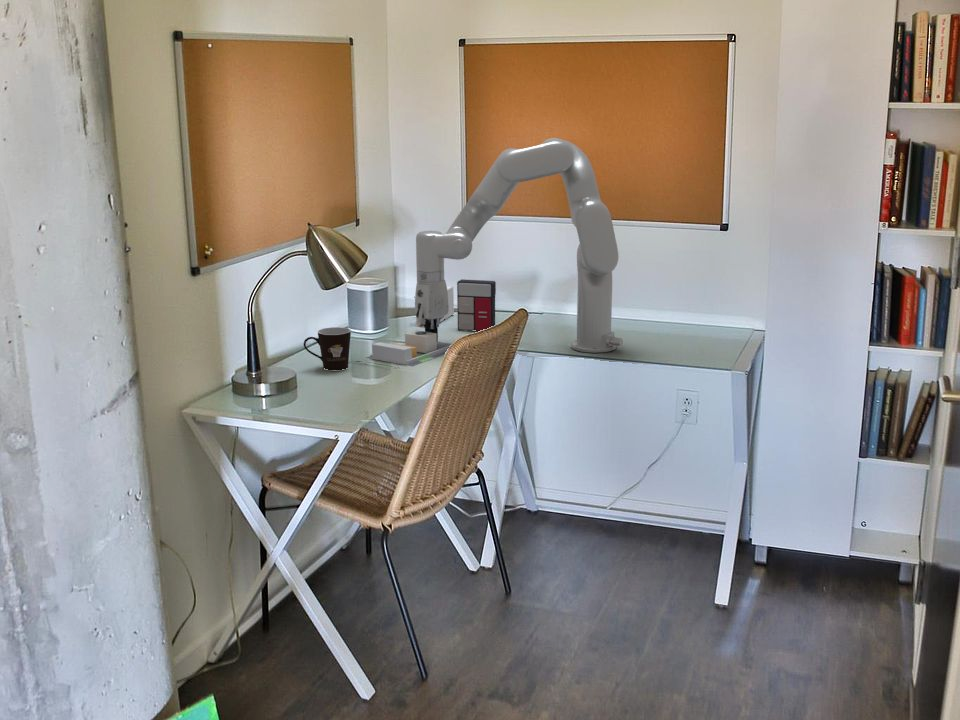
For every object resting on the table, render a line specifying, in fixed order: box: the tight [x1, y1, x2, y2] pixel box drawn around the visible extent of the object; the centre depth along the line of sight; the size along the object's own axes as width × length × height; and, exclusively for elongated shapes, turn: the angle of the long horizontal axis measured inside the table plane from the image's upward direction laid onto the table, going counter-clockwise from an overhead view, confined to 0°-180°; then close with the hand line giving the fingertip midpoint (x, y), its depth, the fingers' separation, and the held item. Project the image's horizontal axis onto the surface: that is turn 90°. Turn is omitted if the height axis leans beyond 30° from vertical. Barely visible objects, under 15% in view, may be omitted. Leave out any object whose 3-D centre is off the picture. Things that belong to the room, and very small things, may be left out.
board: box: [365, 341, 452, 369], centre depth 292 cm, size 25×16×5 cm, turn 146°
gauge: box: [404, 329, 437, 353], centre depth 293 cm, size 5×7×5 cm
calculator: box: [456, 278, 497, 332], centre depth 320 cm, size 11×4×15 cm, turn 73°
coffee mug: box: [303, 326, 352, 371], centre depth 281 cm, size 12×9×10 cm
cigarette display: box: [413, 285, 455, 328], centre depth 334 cm, size 20×6×9 cm, turn 160°
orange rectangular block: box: [393, 343, 417, 358], centre depth 287 cm, size 2×8×3 cm, turn 56°
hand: (431, 341), depth 298 cm, fingers closed
